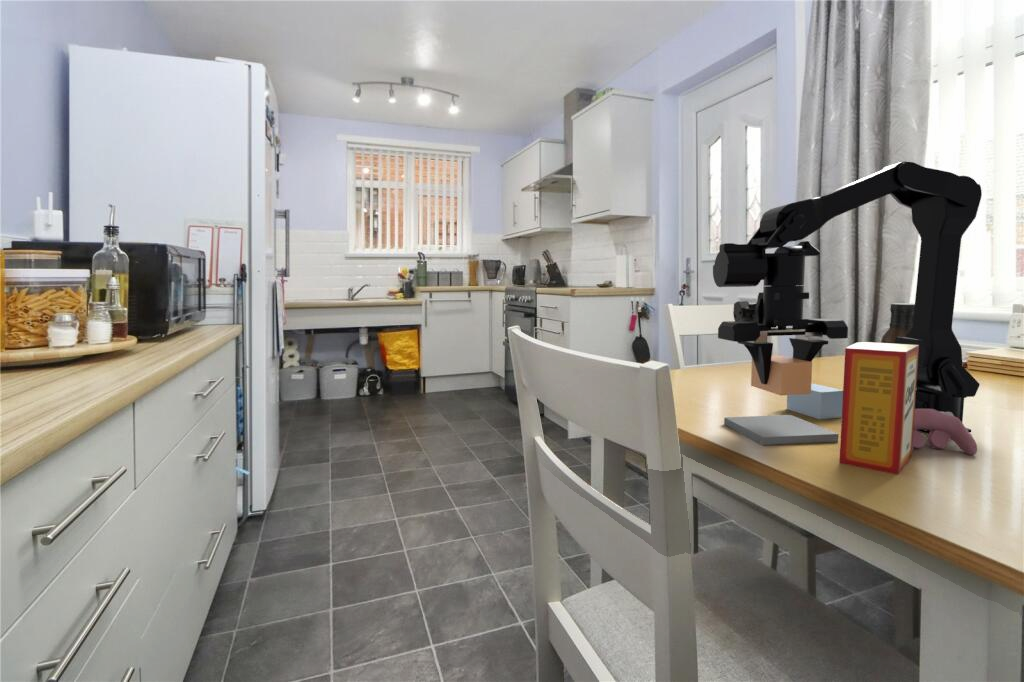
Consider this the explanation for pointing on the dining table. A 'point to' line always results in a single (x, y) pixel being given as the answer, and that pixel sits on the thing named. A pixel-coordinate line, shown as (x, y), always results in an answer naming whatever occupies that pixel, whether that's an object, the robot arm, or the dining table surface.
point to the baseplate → (780, 429)
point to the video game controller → (941, 430)
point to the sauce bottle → (899, 321)
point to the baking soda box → (878, 405)
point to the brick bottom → (785, 376)
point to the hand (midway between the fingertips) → (780, 383)
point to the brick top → (818, 402)
